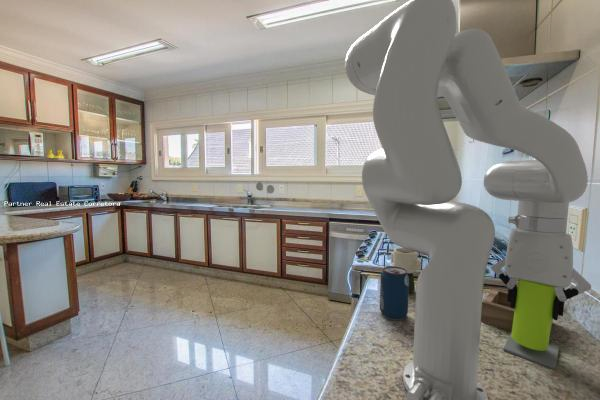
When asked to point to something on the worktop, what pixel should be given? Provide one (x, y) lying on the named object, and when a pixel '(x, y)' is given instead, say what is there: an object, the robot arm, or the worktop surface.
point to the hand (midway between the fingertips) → (533, 311)
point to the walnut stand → (498, 310)
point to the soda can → (394, 293)
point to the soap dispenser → (533, 315)
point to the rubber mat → (533, 353)
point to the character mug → (407, 263)
